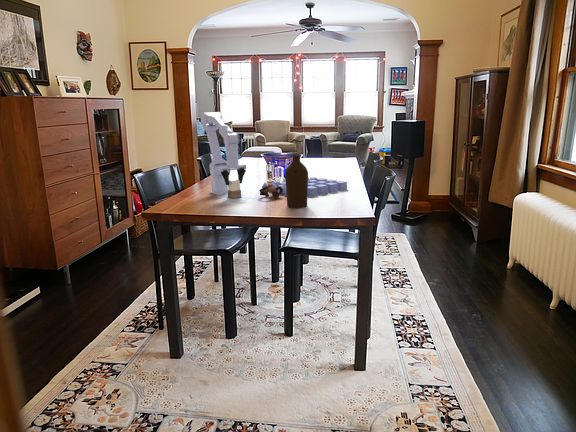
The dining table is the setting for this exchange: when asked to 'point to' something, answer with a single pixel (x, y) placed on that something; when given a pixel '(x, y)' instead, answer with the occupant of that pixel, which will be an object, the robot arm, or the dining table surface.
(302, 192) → the olive oil
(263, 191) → the dark brown figurine
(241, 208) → the dining table surface
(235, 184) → the ivory block
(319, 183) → the blocks
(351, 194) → the dining table surface
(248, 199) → the board
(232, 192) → the walnut base block
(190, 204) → the dining table surface
